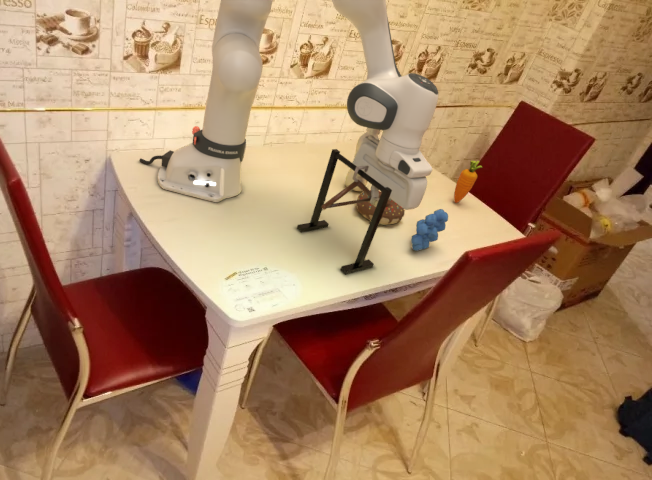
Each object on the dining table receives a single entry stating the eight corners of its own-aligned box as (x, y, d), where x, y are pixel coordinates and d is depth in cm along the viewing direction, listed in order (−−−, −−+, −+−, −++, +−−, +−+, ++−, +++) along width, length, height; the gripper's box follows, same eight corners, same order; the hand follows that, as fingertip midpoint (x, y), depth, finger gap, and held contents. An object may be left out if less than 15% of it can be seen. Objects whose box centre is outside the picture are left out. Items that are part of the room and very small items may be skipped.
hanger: (323, 210, 116) (335, 170, 110) (320, 208, 117) (332, 167, 111) (377, 201, 126) (391, 164, 120) (373, 199, 127) (387, 161, 121)
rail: (345, 275, 121) (376, 193, 108) (296, 228, 132) (318, 149, 119) (372, 267, 126) (405, 188, 113) (323, 223, 137) (347, 147, 124)
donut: (391, 205, 155) (397, 190, 152) (406, 230, 145) (412, 215, 142) (346, 199, 152) (352, 183, 149) (358, 224, 141) (364, 208, 138)
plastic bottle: (363, 196, 156) (386, 133, 144) (341, 189, 156) (362, 126, 144) (364, 187, 161) (386, 125, 149) (344, 180, 161) (364, 119, 149)
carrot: (457, 198, 169) (477, 156, 160) (466, 207, 166) (487, 164, 157) (445, 198, 167) (465, 156, 158) (453, 206, 164) (474, 163, 155)
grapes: (421, 236, 144) (439, 198, 137) (440, 249, 140) (459, 211, 133) (395, 244, 137) (412, 205, 130) (414, 258, 134) (432, 219, 126)
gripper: (356, 132, 119) (339, 185, 128) (419, 175, 108) (395, 230, 116) (375, 131, 123) (357, 182, 131) (438, 172, 111) (414, 226, 119)
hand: (375, 205), depth 123 cm, fingers closed
